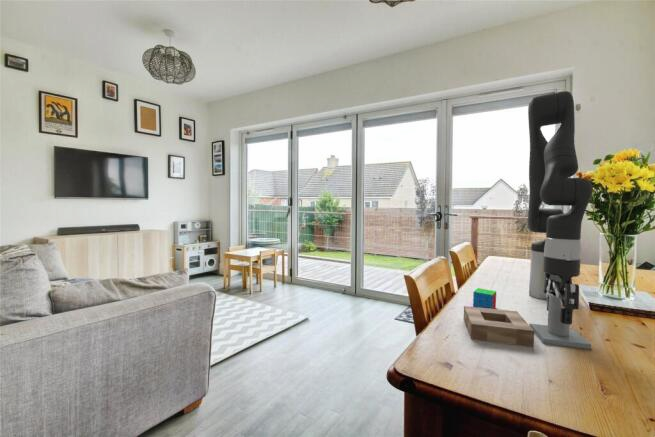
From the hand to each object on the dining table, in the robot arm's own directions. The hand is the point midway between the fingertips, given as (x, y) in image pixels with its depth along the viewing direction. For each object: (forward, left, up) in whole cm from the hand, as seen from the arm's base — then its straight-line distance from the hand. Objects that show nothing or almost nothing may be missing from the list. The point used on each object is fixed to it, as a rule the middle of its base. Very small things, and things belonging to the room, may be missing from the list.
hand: (558, 317), depth 80 cm
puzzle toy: (-19, -14, -6) cm, 24 cm away
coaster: (0, 0, -5) cm, 5 cm away
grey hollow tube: (0, 0, -4) cm, 4 cm away
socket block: (+1, -15, -5) cm, 16 cm away
